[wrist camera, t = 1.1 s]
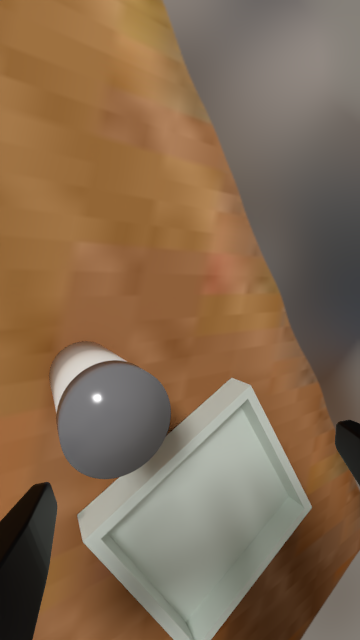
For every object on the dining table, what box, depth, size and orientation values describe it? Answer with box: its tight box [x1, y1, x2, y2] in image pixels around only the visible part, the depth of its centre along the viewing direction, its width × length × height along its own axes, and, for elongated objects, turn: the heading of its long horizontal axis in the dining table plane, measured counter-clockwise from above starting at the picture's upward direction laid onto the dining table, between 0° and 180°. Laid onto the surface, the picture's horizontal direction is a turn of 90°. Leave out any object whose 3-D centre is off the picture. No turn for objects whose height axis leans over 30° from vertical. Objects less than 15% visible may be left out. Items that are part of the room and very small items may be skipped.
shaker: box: [49, 341, 171, 479], centre depth 16 cm, size 5×5×9 cm
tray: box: [77, 378, 312, 640], centre depth 24 cm, size 16×16×2 cm
